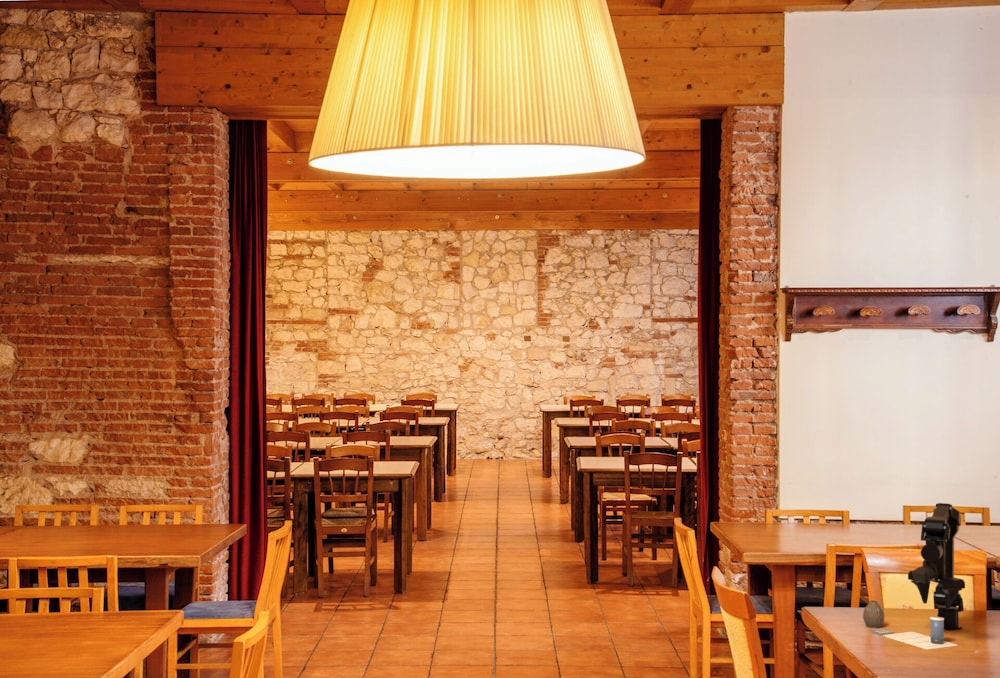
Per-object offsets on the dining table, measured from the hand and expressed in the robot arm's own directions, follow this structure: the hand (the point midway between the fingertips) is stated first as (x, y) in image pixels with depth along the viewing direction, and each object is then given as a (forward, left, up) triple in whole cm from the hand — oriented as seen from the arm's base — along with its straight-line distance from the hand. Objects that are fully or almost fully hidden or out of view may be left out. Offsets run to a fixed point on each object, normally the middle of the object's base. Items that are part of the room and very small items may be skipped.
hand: (936, 606), depth 338 cm
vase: (+2, -25, -12) cm, 28 cm away
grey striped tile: (+6, -17, -12) cm, 22 cm away
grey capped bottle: (0, +1, -12) cm, 12 cm away
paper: (+3, -4, -12) cm, 13 cm away
